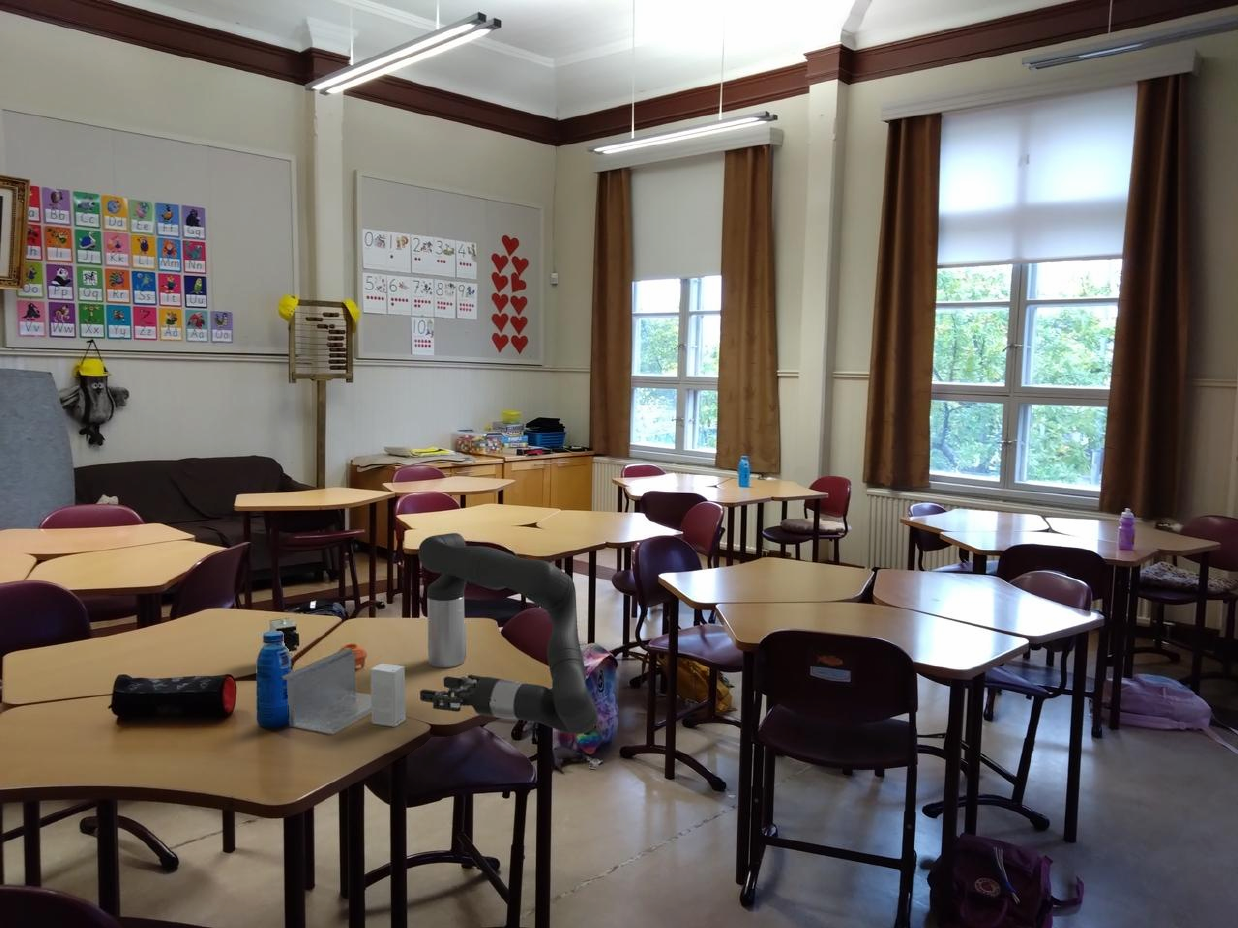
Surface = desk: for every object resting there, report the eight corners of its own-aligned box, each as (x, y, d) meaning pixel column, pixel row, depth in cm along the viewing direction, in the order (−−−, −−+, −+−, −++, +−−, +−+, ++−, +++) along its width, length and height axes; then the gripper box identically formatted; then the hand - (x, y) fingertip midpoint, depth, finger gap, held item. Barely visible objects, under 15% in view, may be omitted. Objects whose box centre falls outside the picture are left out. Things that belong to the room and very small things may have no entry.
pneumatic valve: (278, 673, 217) (277, 626, 216) (269, 660, 227) (268, 614, 226) (302, 669, 220) (300, 622, 219) (292, 656, 230) (291, 611, 229)
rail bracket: (346, 693, 204) (345, 648, 203) (391, 701, 200) (390, 655, 199) (283, 724, 186) (282, 676, 185) (332, 734, 181) (331, 684, 180)
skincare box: (406, 720, 189) (405, 665, 188) (395, 727, 185) (394, 672, 184) (382, 716, 191) (381, 662, 190) (370, 723, 187) (369, 668, 186)
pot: (364, 673, 217) (357, 647, 216) (334, 680, 217) (326, 654, 216) (374, 661, 225) (367, 636, 224) (344, 668, 225) (337, 643, 224)
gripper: (518, 669, 183) (451, 660, 189) (483, 691, 170) (412, 681, 176) (518, 704, 184) (451, 694, 190) (483, 729, 171) (413, 717, 177)
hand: (432, 688), depth 183 cm, fingers open, 8 cm apart
